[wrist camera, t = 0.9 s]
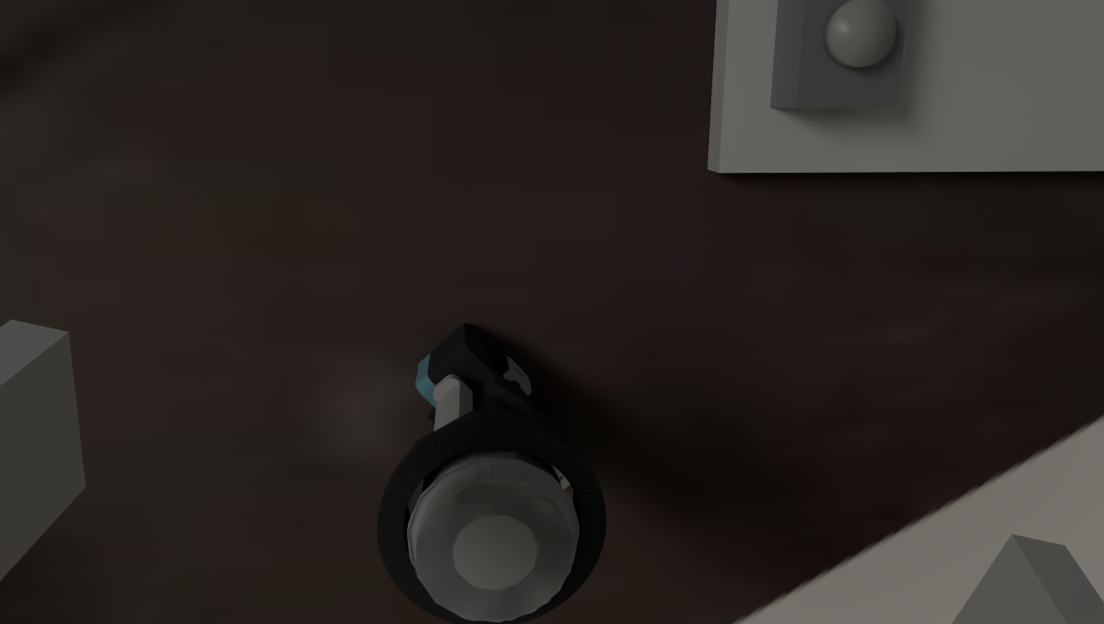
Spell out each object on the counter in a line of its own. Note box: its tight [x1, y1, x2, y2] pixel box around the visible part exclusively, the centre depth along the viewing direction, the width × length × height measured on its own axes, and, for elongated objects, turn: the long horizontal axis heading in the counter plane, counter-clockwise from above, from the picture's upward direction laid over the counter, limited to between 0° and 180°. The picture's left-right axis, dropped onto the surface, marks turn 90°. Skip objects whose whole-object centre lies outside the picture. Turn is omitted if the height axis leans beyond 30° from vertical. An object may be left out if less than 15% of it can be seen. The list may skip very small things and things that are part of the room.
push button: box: [377, 323, 606, 624], centre depth 22 cm, size 7×5×10 cm
